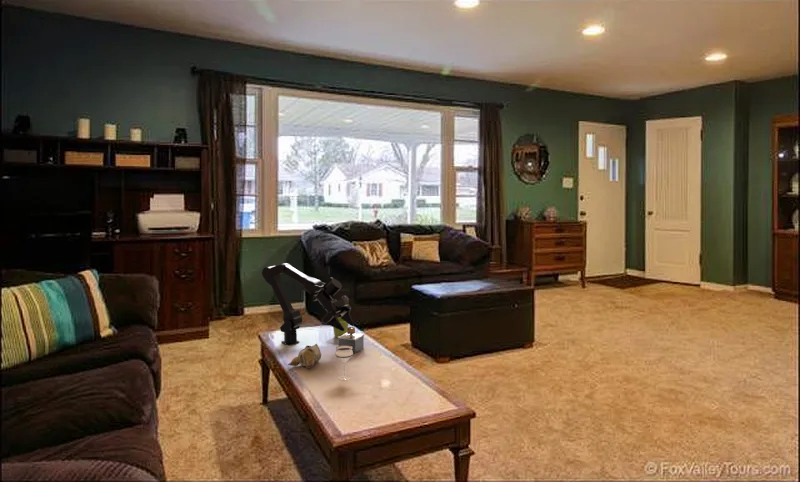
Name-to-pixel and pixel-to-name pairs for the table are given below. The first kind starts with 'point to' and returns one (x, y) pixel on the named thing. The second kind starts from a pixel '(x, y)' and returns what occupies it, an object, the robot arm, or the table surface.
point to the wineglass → (344, 357)
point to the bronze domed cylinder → (351, 330)
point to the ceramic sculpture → (307, 356)
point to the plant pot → (339, 332)
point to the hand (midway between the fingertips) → (348, 328)
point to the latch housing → (352, 341)
